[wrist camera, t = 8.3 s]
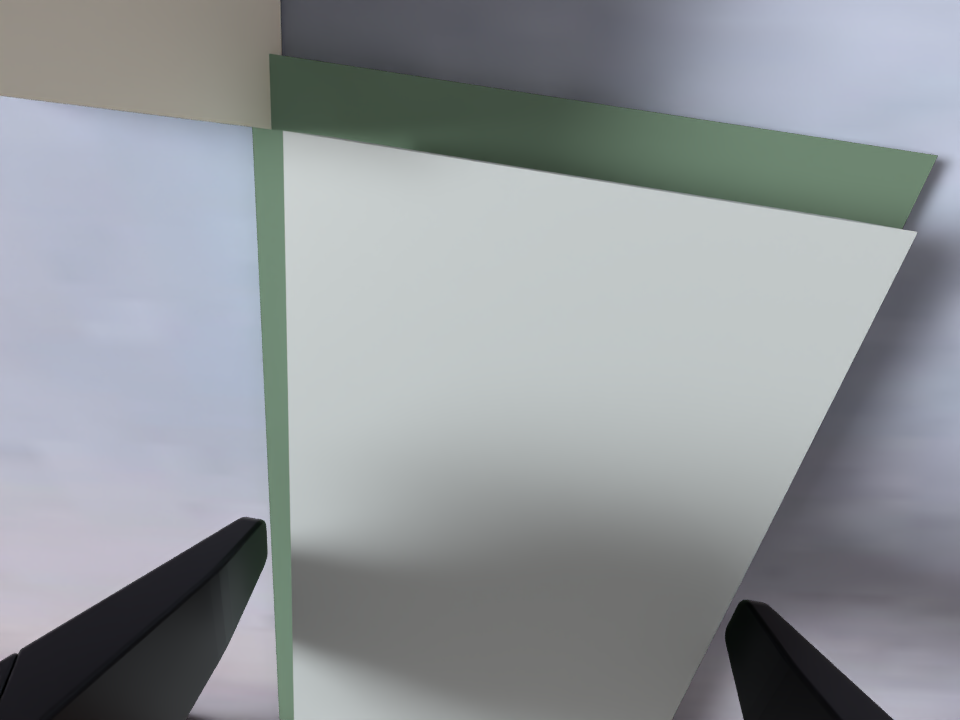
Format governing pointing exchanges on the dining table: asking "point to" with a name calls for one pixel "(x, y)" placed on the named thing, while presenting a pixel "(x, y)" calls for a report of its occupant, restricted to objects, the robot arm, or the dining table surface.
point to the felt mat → (542, 146)
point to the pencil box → (144, 56)
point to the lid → (541, 425)
